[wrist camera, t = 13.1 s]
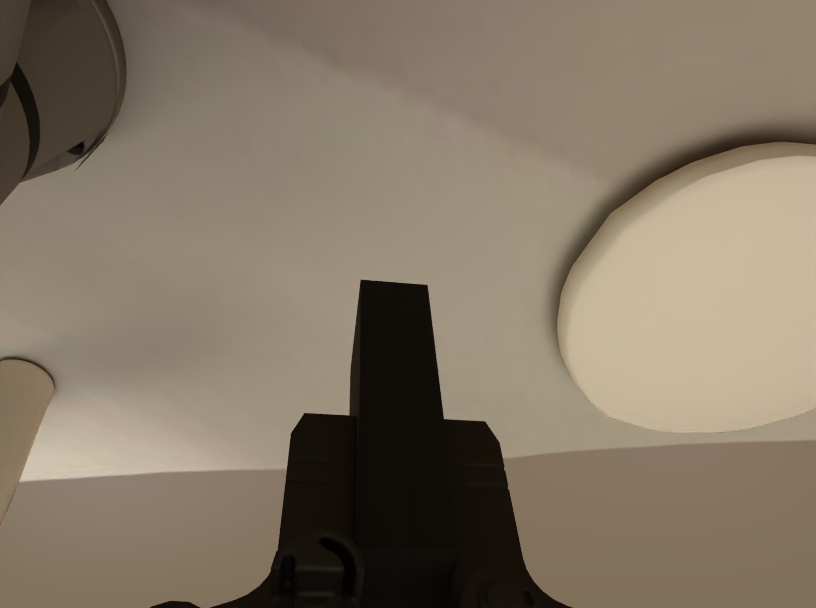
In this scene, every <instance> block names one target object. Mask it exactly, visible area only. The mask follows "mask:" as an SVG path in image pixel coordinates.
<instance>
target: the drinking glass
mask: <svg viewBox="0 0 816 608" xmlns="http://www.w3.org/2000/svg"><path fill="white" fill-rule="evenodd" d="M53 394H54V384H53V381H52V379H51V378H50V376H49V375H48V374H47V373H46V372H45V371H44V370H43V369H41V368H40V367H38V366H36V365H34V364H32V363H29V362H26V361H22V360H13V359H12V360H3V361H0V524H1V522H2V520H3V518H4V516H5V514H6V512H7V510H8V507H9V505H10V503H11V501H12V498H13V496H14V493H15V491H16V487H17V485H18V483H19V480H20V477H21V475H22V472H23V469H24V467H25V464H26V461H27V458H28V456H29V453H30V450H31V448H32V445H33V442H34V440H35V437H36V435H37V432H38V429H39V427H40V424H41V422H42V419H43V416H44V414H45V411H46V409H47V407H48V405H49V403H50V401H51V399H52V397H53Z"/></svg>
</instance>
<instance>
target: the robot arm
mask: <svg viewBox="0 0 816 608" xmlns="http://www.w3.org/2000/svg"><path fill="white" fill-rule="evenodd" d="M125 85H126V62H125V54H124V49H123V44H122V40H121V37H120V33H119V30H118V28H117V25H116V22H115V19H114V17H113V15H112V13H111V11H110V9H109V7H108V5H107V3H106V1H105V0H0V205H1V204H2V203H3V202H4V200H5V199H6V198H7V197H8V196H9V195H10V193H11V192H12V191H13V190H14V189H15V187H16V186H17V185H18V184H19V183H20V182H23V181H26V180H29V179H32V178H35V177H38V176H41V175H44V174H47V173H50V172H53V171H56V170H59V169H61V168H64V167H66V166H68V165H70V164H72V163H74V162H76V161H77V160H79V159H81V158H82V157H84V156H85V155H86V154H87V153H89V152H90V151H91V150H92V149H93V148H94V147H95V146H96V145H97V144H98V143H99V142H100V140H101V139H102V137H103V136H104V135H105V133H106V132H107V131H108V129H109V128H110V127H111V125H112V124H113V122H114V120H115V118H116V117H117V115H118V112H119V110H120V107H121V105H122V101H123V97H124V92H125ZM107 135H108V134H107ZM107 135H106V136H107ZM106 136H105V137H106ZM105 137H104V138H103V139H102V140H101V142H100V143H99V144H98V145H97V146H96V147H95V148H94V149H93V150H92V151H91V152H90V154H89V155H88V156H87V157H86V158H85V159H84V160H83V161H82V162H81V164H82V163H83V162H84V161H85V160H86V159H87V158H88V157H89V156H90V155H91V153H92V152H93V151H94V150H95V149H96V148H97V147H98V146H99V145H100V144H101V143H102V141H103V140H104V139H105ZM81 164H80V165H81ZM80 165H79V167H80ZM79 167H78V168H79ZM78 168H77V169H78ZM77 169H76V170H77ZM150 608H200V607H198V606H196V605H194V604H192V603H190V602H181V601H169V602H165V603H162V604H159V605H155V606H152V607H150ZM211 608H572V607H569V606H566V605H564V604H562V603H560V602H558V601H556V600H554V599H552V598H551V597H550V596H548V595H547V594H546V593H544V592H543V591H542V590H541V589H540V588H539V587H538V586H537V585H536V583H535V582H534V581H533V580H532V578H531V576H530V575H529V573H528V571H527V569H526V566H525V563H524V560H523V556H522V552H521V547H520V542H519V537H518V532H517V527H516V522H515V517H514V512H513V507H512V502H511V497H510V492H509V490H508V483H507V478H506V473H505V471H504V463H503V458H502V453H501V448H500V443H499V441H498V440H497V438H496V437H495V435H494V434H493V432H492V431H491V429H490V428H489V427H488V425H487V424H486V422H484V421H466V420H448V419H444V416H443V408H442V400H441V392H440V384H439V376H438V367H437V359H436V351H435V343H434V335H433V327H432V318H431V310H430V302H429V294H428V286H427V285H420V284H408V283H395V282H383V281H370V280H361V282H360V291H359V300H358V309H357V317H356V326H355V335H354V344H353V353H352V361H351V375H350V415H349V416H348V415H329V414H311V413H304V415H303V416H302V418H301V419H300V421H299V422H298V424H297V425H296V427H295V428H294V430H293V431H292V433H291V439H290V447H289V456H288V465H287V474H286V483H285V492H284V500H283V509H282V518H281V527H280V535H279V544H278V550H277V552H276V555H275V558H274V561H273V563H272V566H271V572H270V574H269V576H268V577H267V578H266V579H265V580H264V581H263V582H262V584H261V585H260V586H259V587H257V588H256V589H255V590H253V591H252V592H250V593H249V594H248V595H245V596H243V597H241V598H238V599H236V600H233V601H231V602H227V603H224V604H220V605H217V606H214V607H211Z"/></svg>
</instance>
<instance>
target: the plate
mask: <svg viewBox="0 0 816 608" xmlns="http://www.w3.org/2000/svg"><path fill="white" fill-rule="evenodd" d="M557 333H558V341H559V348H560V353H561V356H562V358H563V360H564V363H565V365H566V367H567V369H568V372H569V374H570V376H571V378H572V380H573V381H574V382H575V384H576V385H577V386H578V388H579V389H580V390H581V392H582V393H583V394H584V396H585V397H586V398H587V399H588V400H589V401H590V402H591V403H592V404H593V405H594V406H596V407H597V408H598V409H599V410H600V411H601V412H602V413H603V414H605V415H606V416H608V417H611V418H614V419H617V420H620V421H623V422H626V423H629V424H632V425H635V426H638V427H641V428H645V429H651V430H658V431H665V432H672V433H721V432H728V431H735V430H743V429H750V428H753V427H757V426H761V425H765V424H768V423H772V422H776V421H780V420H783V419H787V418H791V417H794V416H796V415H799V414H802V413H804V412H807V411H810V410H812V409H815V408H816V144H803V143H791V142H773V143H765V144H757V145H749V146H742V147H738V148H735V149H732V150H729V151H726V152H723V153H720V154H716V155H713V156H710V157H707V158H704V159H701V160H698V161H694V162H692V163H690V164H688V165H686V166H684V167H682V168H680V169H678V170H676V171H674V172H672V173H670V174H668V175H666V176H664V177H662V178H660V179H658V180H656V181H654V182H653V183H652V184H650V185H649V186H648V187H646V188H645V189H643V190H642V191H641V192H639V193H638V194H636V195H635V196H634V197H632V198H631V199H630V200H628V201H627V202H625V203H624V204H623V205H621V206H620V207H619V208H617V209H616V210H614V211H613V212H612V213H610V215H609V216H608V218H607V219H606V220H605V222H604V223H603V224H602V226H601V227H600V229H599V230H598V231H597V233H596V234H595V235H594V237H593V238H592V240H591V241H590V242H589V244H588V245H587V247H586V248H585V249H584V251H583V252H582V253H581V255H580V256H579V258H578V259H577V260H576V262H575V263H574V264H573V266H572V268H571V270H570V273H569V275H568V278H567V280H566V282H565V285H564V287H563V289H562V292H561V298H560V306H559V313H558V321H557Z"/></svg>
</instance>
